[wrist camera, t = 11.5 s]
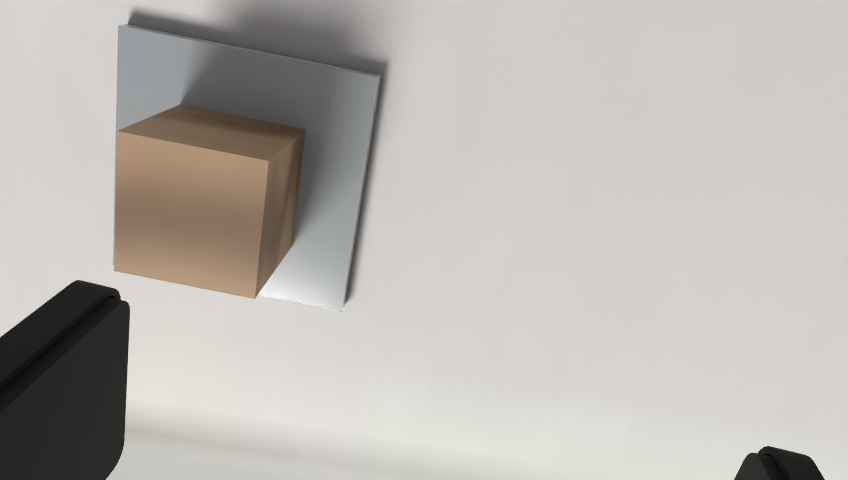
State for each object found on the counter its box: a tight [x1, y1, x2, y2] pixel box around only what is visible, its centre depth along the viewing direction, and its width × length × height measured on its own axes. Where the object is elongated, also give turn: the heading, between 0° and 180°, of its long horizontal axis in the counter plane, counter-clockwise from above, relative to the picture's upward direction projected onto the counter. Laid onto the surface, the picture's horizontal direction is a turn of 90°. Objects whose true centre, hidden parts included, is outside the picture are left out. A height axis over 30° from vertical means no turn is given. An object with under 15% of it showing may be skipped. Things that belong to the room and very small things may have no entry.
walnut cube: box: [114, 105, 306, 299], centre depth 31 cm, size 6×6×6 cm
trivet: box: [113, 24, 381, 312], centre depth 34 cm, size 12×12×1 cm
